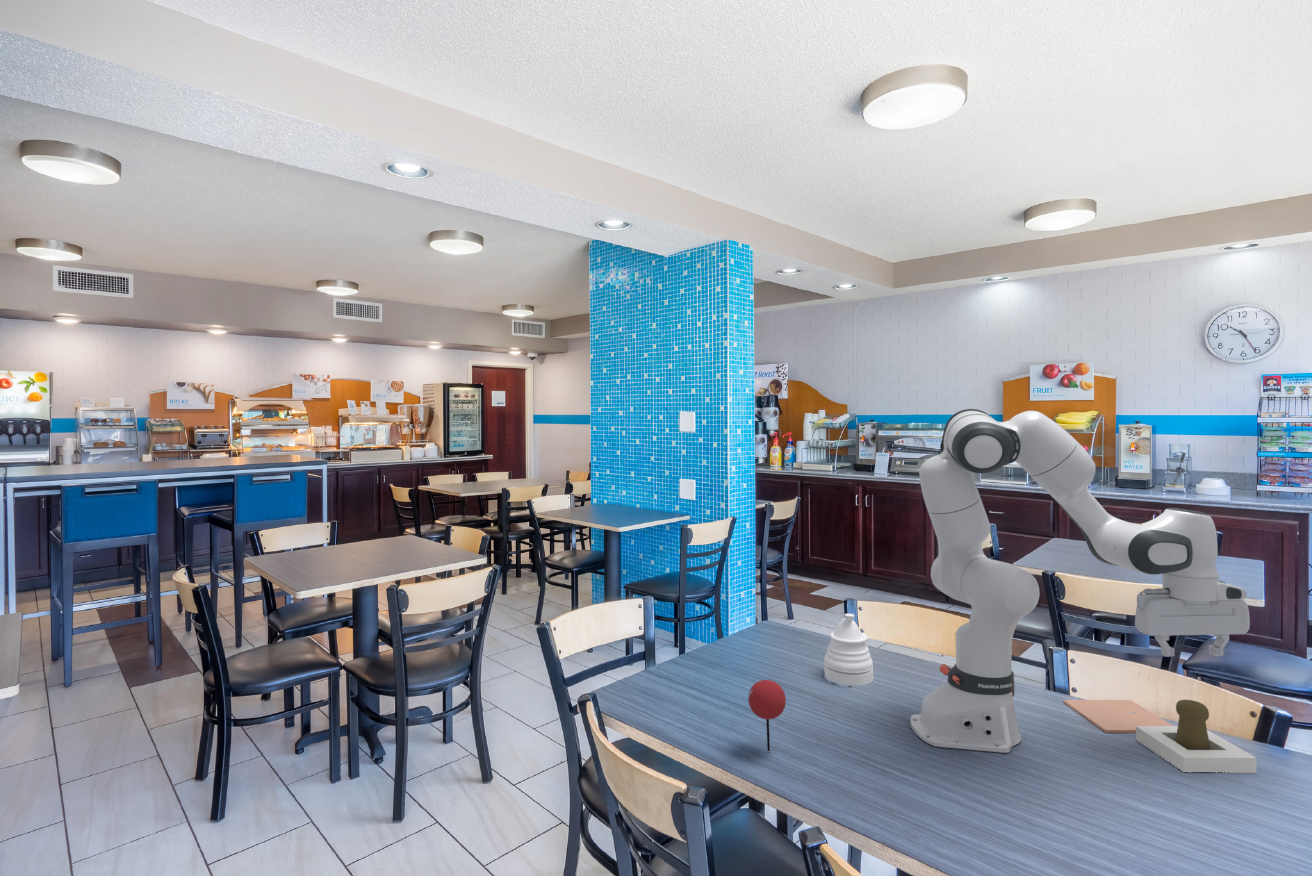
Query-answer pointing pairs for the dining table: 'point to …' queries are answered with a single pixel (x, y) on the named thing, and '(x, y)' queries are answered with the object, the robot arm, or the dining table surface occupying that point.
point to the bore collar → (1196, 752)
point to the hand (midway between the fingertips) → (1192, 655)
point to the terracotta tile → (1115, 715)
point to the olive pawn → (1192, 725)
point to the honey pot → (848, 655)
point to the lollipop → (767, 701)
